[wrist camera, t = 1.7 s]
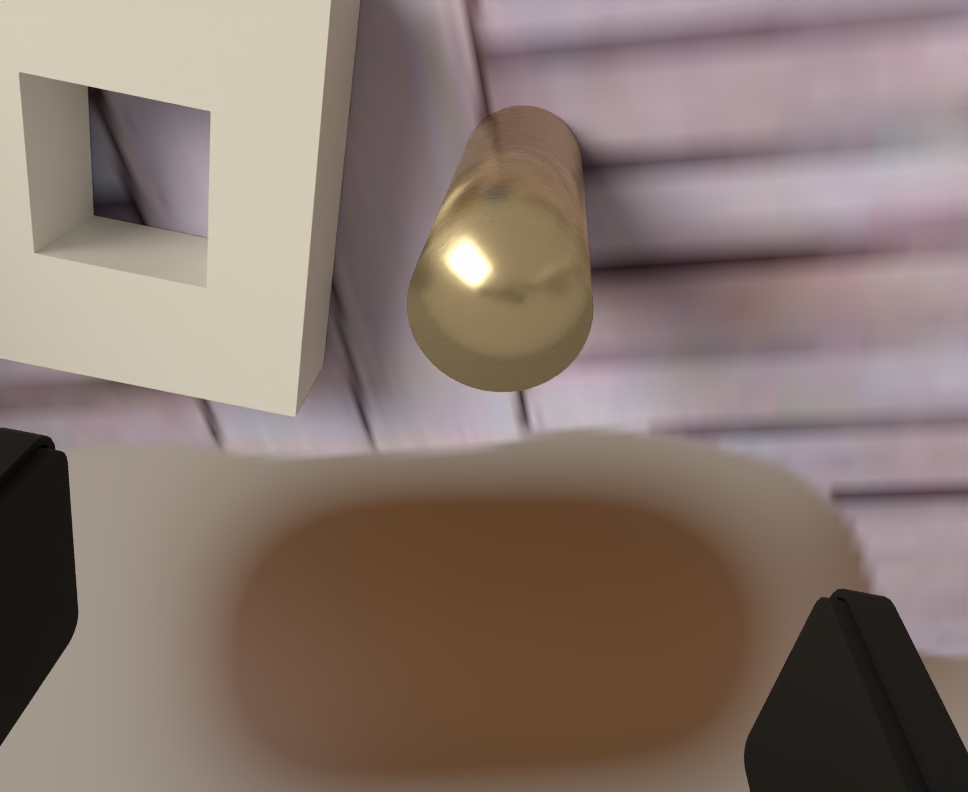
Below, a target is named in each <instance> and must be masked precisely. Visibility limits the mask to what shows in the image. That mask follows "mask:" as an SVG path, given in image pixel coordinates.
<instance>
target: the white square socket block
mask: <svg viewBox="0 0 968 792" xmlns="http://www.w3.org/2000/svg"><path fill="white" fill-rule="evenodd" d="M359 9H360V0H0V358H1V359H6V360H11V361H16V362H21V363H26V364H31V365H36V366H41V367H46V368H51V369H56V370H61V371H66V372H71V373H76V374H81V375H86V376H91V377H96V378H101V379H106V380H111V381H116V382H121V383H126V384H132V385H137V386H142V387H147V388H152V389H157V390H162V391H167V392H172V393H177V394H182V395H187V396H192V397H197V398H202V399H207V400H212V401H217V402H222V403H227V404H232V405H237V406H242V407H247V408H252V409H257V410H262V411H267V412H272V413H277V414H282V415H287V416H292V417H296V415H297V413H298V411H299V410H300V408H301V406H302V404H303V402H304V400H305V398H306V396H307V395H308V393H309V391H310V389H311V387H312V385H313V383H314V381H315V380H316V378H317V376H318V374H319V372H320V370H321V368H322V366H323V365H324V355H325V345H326V335H327V325H328V316H329V306H330V296H331V286H332V276H333V266H334V256H335V246H336V236H337V227H338V217H339V207H340V197H341V187H342V177H343V167H344V157H345V147H346V137H347V128H348V118H349V108H350V98H351V88H352V78H353V68H354V58H355V48H356V39H357V29H358V19H359ZM88 86H90V87H95V88H100V89H105V90H109V91H114V92H119V93H124V94H129V95H134V96H139V97H143V98H148V99H153V100H158V101H163V102H168V103H173V104H177V105H182V106H187V107H192V108H197V109H202V110H207V111H211V119H210V164H209V209H208V238H203V237H199V236H194V235H189V234H184V233H179V232H174V231H169V230H164V229H159V228H154V227H149V226H144V225H139V224H135V223H130V222H125V221H120V220H115V219H110V218H105V217H100V216H95V215H94V210H93V189H92V168H91V146H90V125H89V104H88Z"/></svg>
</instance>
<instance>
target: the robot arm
mask: <svg viewBox="0 0 968 792" xmlns="http://www.w3.org/2000/svg"><path fill="white" fill-rule="evenodd" d="M76 588H77V587H76V575H75V559H74V545H73V531H72V517H71V502H70V488H69V474H68V461H67V456H66V455H65V453H64V452H62V451H58V450H55V445H54V442H53V441H52V439H51V438H50V437H48V436H44V435H39V434H34V433H28V432H23V431H18V430H13V429H8V428H0V746H1V744H2V743H3V741H4V740H5V738H6V737H7V735H8V734H9V732H10V731H11V729H12V727H13V726H14V725H15V723H16V722H17V720H18V719H19V717H20V716H21V714H22V713H23V711H24V710H25V708H26V707H27V705H28V704H29V702H30V701H31V699H32V698H33V696H34V695H35V693H36V692H37V690H38V689H39V687H40V686H41V684H42V683H43V681H44V680H45V678H46V677H47V675H48V674H49V672H50V671H51V669H52V668H53V666H54V665H55V663H56V662H57V660H58V659H59V657H60V656H61V654H62V653H63V651H64V650H65V648H66V647H67V645H68V644H69V642H70V640H71V638H72V636H73V634H74V631H75V628H76V625H77V620H78V603H77V602H78V601H77V589H76ZM744 764H745V770H746V775H747V779H748V783H749V788H750V792H968V752H967V751H966V748H965V746H964V744H963V742H962V740H961V738H960V736H959V734H958V732H957V730H956V728H955V726H954V724H953V722H952V720H951V718H950V716H949V715H948V712H947V710H946V708H945V706H944V704H943V702H942V700H941V698H940V696H939V694H938V692H937V690H936V688H935V686H934V684H933V682H932V680H931V678H930V676H929V674H928V672H927V670H926V668H925V666H924V664H923V662H922V660H921V658H920V656H919V654H918V652H917V650H916V648H915V646H914V644H913V642H912V640H911V638H910V636H909V634H908V632H907V630H906V628H905V626H904V624H903V622H902V620H901V618H900V616H899V614H898V612H897V610H896V608H895V606H894V604H893V603H892V602H891V600H890V599H888V598H886V597H884V596H878V595H873V594H868V593H863V592H858V591H852V590H847V589H838V590H836V591H835V592H834V593H833V594H832V595H831V597H830V598H826V597H822V598H820V599H819V600H818V601H817V602H816V604H815V605H814V607H813V609H812V611H811V613H810V615H809V617H808V619H807V621H806V623H805V625H804V627H803V629H802V631H801V633H800V635H799V637H798V639H797V641H796V643H795V645H794V647H793V649H792V650H791V652H790V654H789V656H788V659H787V660H786V662H785V664H784V666H783V668H782V670H781V672H780V674H779V676H778V678H777V680H776V682H775V684H774V686H773V688H772V690H771V692H770V694H769V696H768V698H767V700H766V702H765V704H764V706H763V708H762V710H761V712H760V714H759V716H758V718H757V720H756V722H755V724H754V726H753V728H752V729H751V732H750V733H749V735H748V738H747V741H746V745H745V753H744Z"/></svg>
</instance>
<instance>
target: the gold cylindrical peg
mask: <svg viewBox="0 0 968 792" xmlns="http://www.w3.org/2000/svg"><path fill="white" fill-rule="evenodd" d="M407 310H408V318H409V323H410V327H411V330H412V332H413V335H414V337H415V339H416V341H417V343H418V345H419V347H420V348H421V350H422V351H423V353H424V354H425V356H426V357H427V358H428V359H429V360H430V361H431V362H432V363H433V364H434V365H435V366H436V367H437V368H438V369H439V370H440V371H442V372H443V373H445V374H446V375H447V376H449V377H450V378H452V379H454V380H456V381H458V382H460V383H462V384H465V385H467V386H470V387H473V388H477V389H480V390H486V391H493V392H512V391H520V390H524V389H529V388H532V387H535V386H538V385H540V384H542V383H545V382H547V381H549V380H551V379H552V378H554V377H555V376H557V375H558V374H560V373H561V372H562V371H563V370H565V369H566V368H567V367H568V366H569V365H570V364H571V363H572V362H573V361H574V360H575V358H576V357H577V356H578V354H579V353H580V351H581V350H582V348H583V346H584V344H585V342H586V340H587V338H588V335H589V332H590V329H591V324H592V319H593V296H592V283H591V270H590V257H589V244H588V231H587V218H586V205H585V192H584V179H583V166H582V155H581V151H580V147H579V144H578V142H577V140H576V138H575V136H574V134H573V132H572V131H571V130H570V128H569V127H568V126H567V125H566V124H565V123H564V122H563V121H562V120H561V119H560V118H558V117H557V116H556V115H554V114H552V113H551V112H549V111H546V110H544V109H541V108H537V107H533V106H513V107H509V108H505V109H502V110H500V111H497V112H495V113H494V114H492V115H490V116H489V117H487V118H486V119H485V120H484V121H483V122H482V123H481V124H480V125H479V126H478V127H477V128H476V129H475V131H474V132H473V134H472V136H471V137H470V139H469V141H468V144H467V146H466V148H465V151H464V153H463V156H462V158H461V160H460V163H459V165H458V168H457V170H456V172H455V175H454V177H453V179H452V182H451V184H450V187H449V189H448V191H447V194H446V196H445V199H444V201H443V203H442V206H441V208H440V211H439V213H438V215H437V218H436V220H435V222H434V225H433V227H432V230H431V232H430V234H429V237H428V239H427V242H426V244H425V246H424V249H423V251H422V253H421V256H420V258H419V261H418V263H417V265H416V268H415V270H414V273H413V275H412V278H411V281H410V285H409V289H408V297H407Z"/></svg>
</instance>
